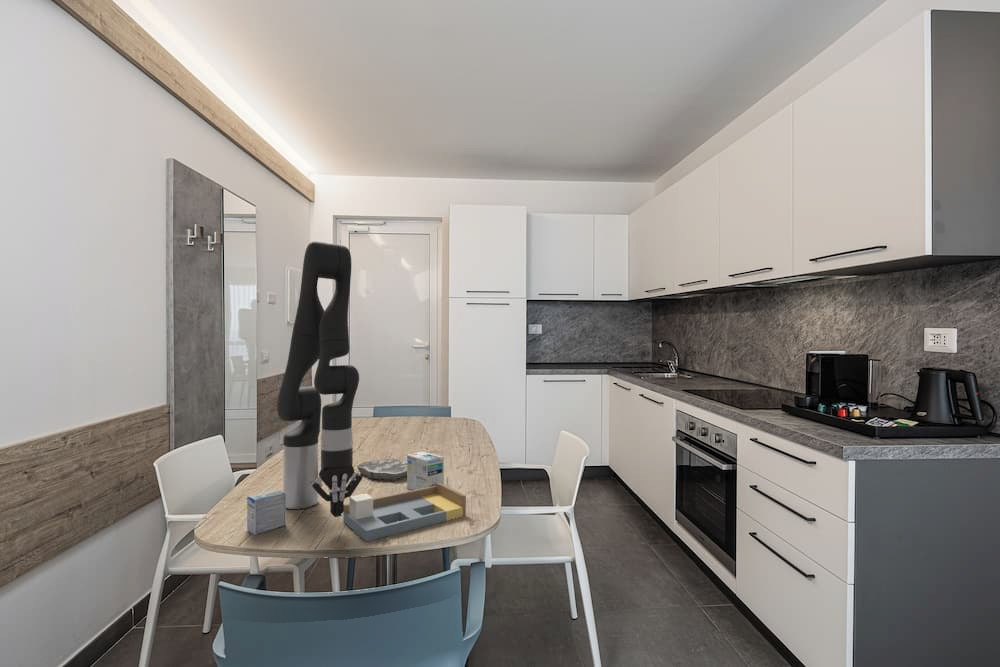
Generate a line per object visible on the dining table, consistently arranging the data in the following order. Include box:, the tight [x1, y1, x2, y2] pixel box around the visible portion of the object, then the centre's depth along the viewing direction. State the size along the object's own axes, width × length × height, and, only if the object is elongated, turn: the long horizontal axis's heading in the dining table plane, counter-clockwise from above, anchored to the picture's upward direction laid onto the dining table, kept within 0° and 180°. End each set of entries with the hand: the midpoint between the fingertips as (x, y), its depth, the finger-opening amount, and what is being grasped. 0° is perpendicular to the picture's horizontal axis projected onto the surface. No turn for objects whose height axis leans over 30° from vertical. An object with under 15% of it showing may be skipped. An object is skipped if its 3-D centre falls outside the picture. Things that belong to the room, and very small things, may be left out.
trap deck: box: [342, 482, 467, 542], centre depth 136 cm, size 15×28×6 cm, turn 127°
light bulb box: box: [406, 451, 445, 491], centre depth 160 cm, size 11×7×11 cm, turn 47°
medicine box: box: [246, 488, 287, 536], centre depth 129 cm, size 8×4×9 cm, turn 141°
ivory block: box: [348, 493, 374, 519], centre depth 131 cm, size 4×4×4 cm
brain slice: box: [356, 458, 407, 481], centre depth 177 cm, size 20×17×3 cm
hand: (336, 515), depth 127 cm, fingers closed
